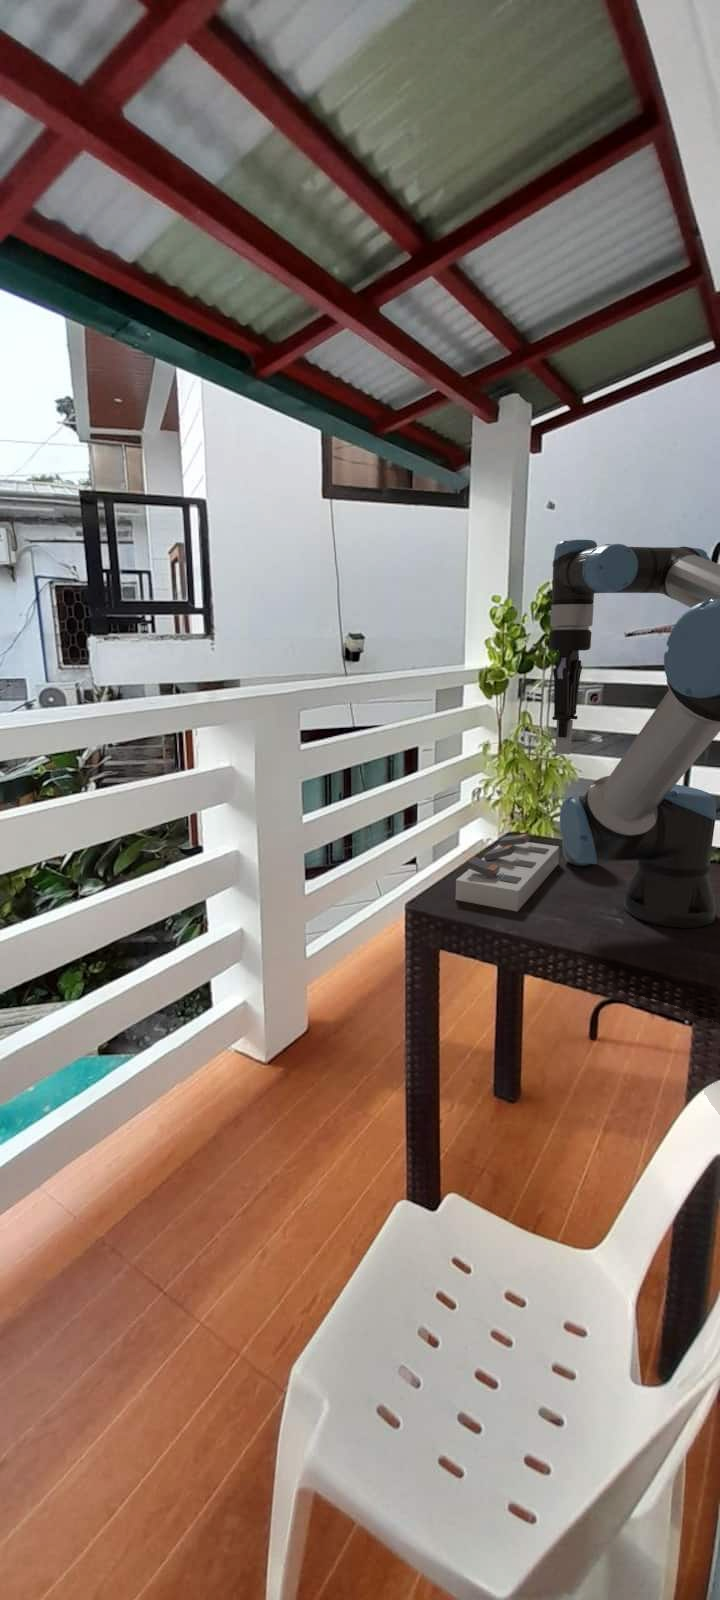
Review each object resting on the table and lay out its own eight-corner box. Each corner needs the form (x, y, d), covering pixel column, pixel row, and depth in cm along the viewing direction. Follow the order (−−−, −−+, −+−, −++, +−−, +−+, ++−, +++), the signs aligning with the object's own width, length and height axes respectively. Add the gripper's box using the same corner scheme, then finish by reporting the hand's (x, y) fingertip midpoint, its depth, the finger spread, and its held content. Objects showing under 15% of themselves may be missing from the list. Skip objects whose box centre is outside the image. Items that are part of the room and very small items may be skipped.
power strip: (567, 853, 160) (568, 835, 159) (517, 911, 127) (518, 889, 126) (516, 845, 166) (517, 828, 165) (455, 899, 133) (456, 878, 132)
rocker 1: (498, 872, 135) (500, 866, 134) (492, 878, 132) (494, 872, 131) (472, 861, 137) (474, 855, 137) (465, 867, 134) (467, 860, 134)
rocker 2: (515, 850, 143) (513, 843, 143) (510, 854, 140) (508, 848, 140) (491, 856, 146) (489, 850, 146) (485, 861, 143) (483, 854, 143)
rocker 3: (529, 839, 151) (528, 833, 151) (525, 843, 148) (523, 837, 148) (505, 841, 154) (504, 835, 154) (500, 846, 151) (498, 840, 151)
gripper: (559, 628, 138) (551, 747, 143) (541, 628, 127) (534, 757, 132) (598, 628, 134) (589, 749, 140) (583, 628, 123) (574, 760, 129)
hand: (562, 753), depth 136 cm, fingers closed
